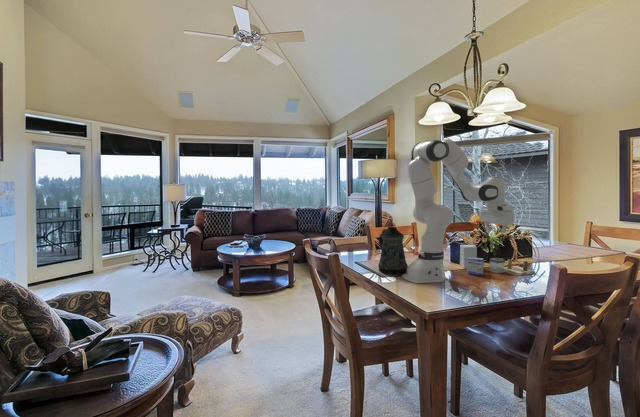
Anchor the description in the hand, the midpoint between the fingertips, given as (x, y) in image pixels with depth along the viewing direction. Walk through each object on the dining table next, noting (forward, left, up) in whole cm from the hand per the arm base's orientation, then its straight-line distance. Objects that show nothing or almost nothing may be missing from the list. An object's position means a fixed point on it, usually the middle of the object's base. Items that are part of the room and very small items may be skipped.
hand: (495, 231), depth 180 cm
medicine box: (-13, 0, -23) cm, 27 cm away
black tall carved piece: (-53, +23, -23) cm, 62 cm away
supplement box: (-6, +13, -23) cm, 27 cm away
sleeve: (+1, -1, -23) cm, 23 cm away
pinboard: (+11, -5, -23) cm, 25 cm away
